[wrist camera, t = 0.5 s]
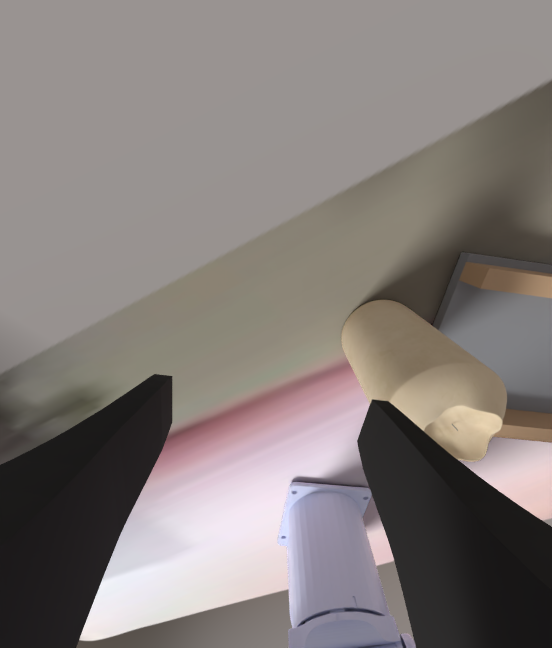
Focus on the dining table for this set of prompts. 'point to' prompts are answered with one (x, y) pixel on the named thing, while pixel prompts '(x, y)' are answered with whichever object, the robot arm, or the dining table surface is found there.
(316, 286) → the dining table surface
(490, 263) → the tray
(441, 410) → the candle
